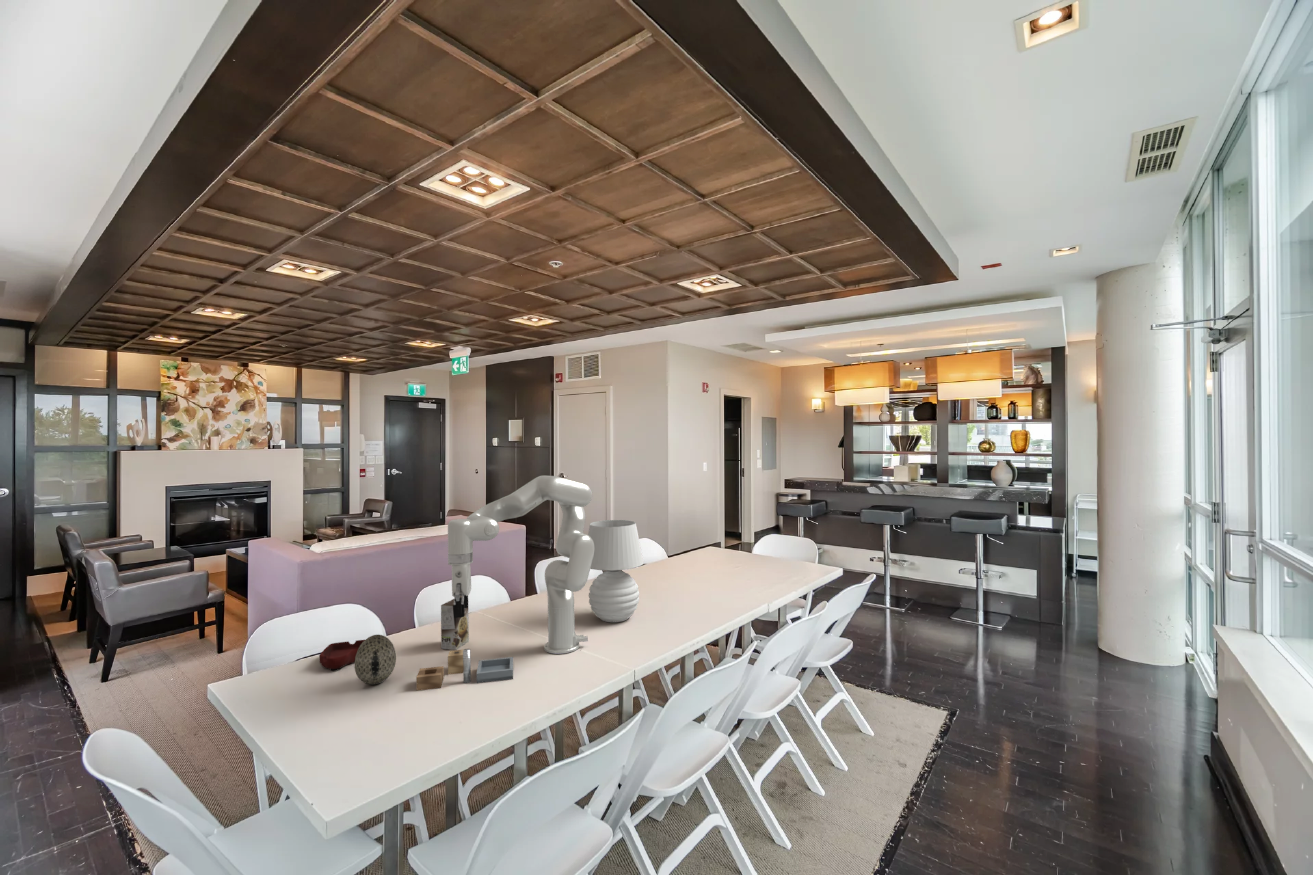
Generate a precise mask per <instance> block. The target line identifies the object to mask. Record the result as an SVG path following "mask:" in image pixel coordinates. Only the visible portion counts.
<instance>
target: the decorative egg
mask: <svg viewBox="0 0 1313 875" xmlns="http://www.w3.org/2000/svg"><path fill="white" fill-rule="evenodd" d="M364 640H365V641H364V642H363V643H362V644H361V645H360V647H359V649H358V651H357V654H356V657H355V663H354V671H355V675H356V676H357V678H358V679H359V680H360V681H361V682H362V683H364V684H366V685H378V684H381V683H384V681H386V680H387V679H388V678H389V677H390V676H391V675H392V673H393V671H394V670H395V667H396V664H397V663H396V662H397V655H396V649H395V646H394V644H393V642H392V641H391V640H390V639H389V638H388V637H386V636H385V635H384V634H372V635H370V636H368V637H367V638H365V639H364Z"/></svg>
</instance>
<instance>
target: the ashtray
mask: <svg viewBox="0 0 1313 875" xmlns="http://www.w3.org/2000/svg"><path fill="white" fill-rule="evenodd" d="M365 640H366V639H358V640H355V642H354V643H350V641H347V640H346V641H341V642H340V641H339V642H333V643H330V644H328V645H327V646H326V647H325V648H324V649H323V650H322V651H321V652H320V654H319V657H318V659H319V664H320V666H322V667H323V668H325V669H329V670H330V671H331V672H336V671H339V670H341V669H342V668H343V667H346V666H348V665H351V664H355V657H356V654H357V651H358V649H359V647H360V645H361V644H362V643H363V642H364V641H365Z"/></svg>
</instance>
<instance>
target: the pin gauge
mask: <svg viewBox="0 0 1313 875" xmlns="http://www.w3.org/2000/svg"><path fill="white" fill-rule="evenodd" d="M462 650H463V649H462ZM471 661H472V660H471V648H464V650H463V673H462V674H463V675H462V676H463V678H462V679H463V684H469V683H471V682H472V673H471V669H472V668H471V666H472V665H471Z"/></svg>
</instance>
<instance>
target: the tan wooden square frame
mask: <svg viewBox="0 0 1313 875" xmlns="http://www.w3.org/2000/svg"><path fill="white" fill-rule="evenodd" d="M417 672H418V673H417V675H416V680H415V681H416V682H415V684H416V691H418V692H419V691H425V690H434V689H442V686H443V682H444V679H445V678H444V677H445V674H444V672H445V669H444V665H440V666H433V667H422V668H419V670H418V671H417Z"/></svg>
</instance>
